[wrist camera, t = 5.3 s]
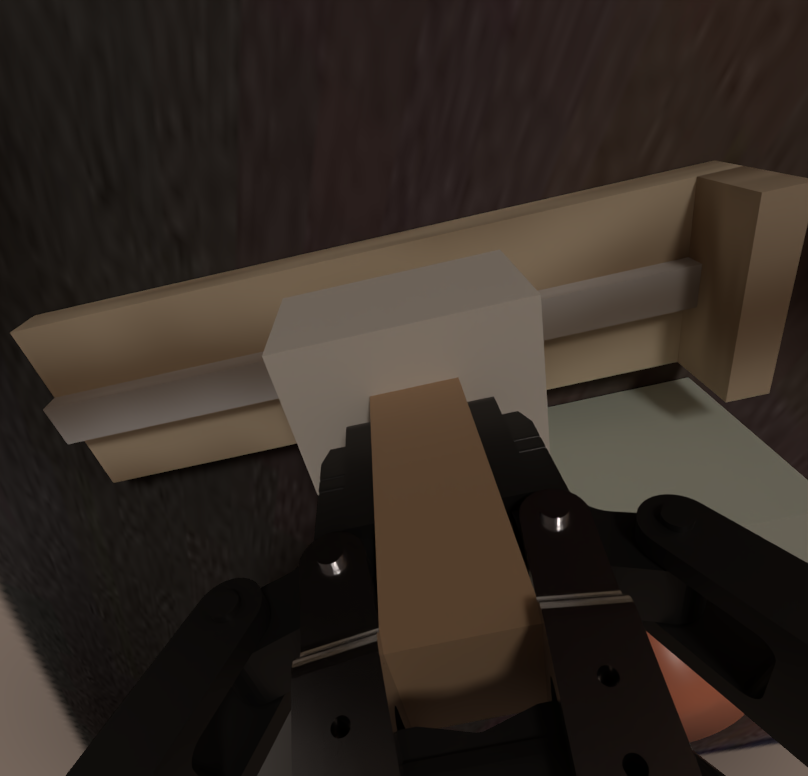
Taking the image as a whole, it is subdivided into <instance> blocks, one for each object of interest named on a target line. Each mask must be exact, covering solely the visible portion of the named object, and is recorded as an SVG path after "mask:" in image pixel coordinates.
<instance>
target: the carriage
mask: <svg viewBox="0 0 808 776" xmlns="http://www.w3.org/2000/svg"><path fill="white" fill-rule="evenodd" d="M262 358H263V360H264V363H265V365H266V368H267V370H268V373H269V375H270V378H271V380H272V383H273V385H274V388H275V390H276V393H277V395H278V398H279V400H280V403H281V405H282V407H283V410H284V412H285V415H286V417H287V420H288V422H289V425H290V427H291V430H292V432H293V435H294V437H295V440H296V442H297V445H298V447H299V450H300V452H301V455H302V457H303V460H304V462H305V464H306V467H307V469H308V472H309V474H310V477H311V479H312V482H313V484H314V487H315V489H316V492H317V494H318V495H319V482H320V472H321V464H322V462H323V461H324V459H325V457H326V456H327V454H328V453H329V451H330V450H331V449H336V448H341V447H345V444H346V427H348V426H353V425H358V424H362V423H367V422H371V445H372V470H373V494H374V519H375V544H376V569H377V593H378V618H379V631H380V637H381V642H382V648H383V653H384V656H385V659H386V662H387V664H388V667H389V669H390V672H391V675H392V677H393V680H394V682H395V685H396V688H397V690H398V693H399V695H400V698H401V701H402V703H403V706H404V708H405V711H406V714H407V716H408V719H409V721H410V724H411V727H426V728H435V729H437V728H442V727H447V726H452V725H458V724H463V723H468V722H473V721H478V720H484V719H489V718H494V717H499V716H504V715H510V714H515V713H520V712H523V711H525V710H527V709H528V708H530V707H532V706H534V705H536V704H539V703H544V702H547V689H546V676H545V663H544V650H543V637H542V624H541V619H540V614H539V609H538V604H537V599H536V594H535V591H534V589H533V586H532V583H531V580H530V577H529V575H528V572H527V569H526V566H525V563H524V560H523V558H522V555H521V552H520V549H519V546H518V544H517V541H516V538H515V535H514V532H513V530H512V527H511V524H510V521H509V518H508V515H507V513H506V510H505V507H504V504H503V501H502V499H501V496H500V493H499V490H498V487H497V484H496V482H495V479H494V476H493V473H492V470H491V468H490V465H489V462H488V459H487V456H486V454H485V451H484V448H483V445H482V442H481V439H480V437H479V434H478V431H477V428H476V425H475V423H474V420H473V417H472V414H471V411H470V408H469V406H468V403H467V402H469V401H474V400H478V399H483V398H488V397H494V398H495V400H496V402H497V404H498V406H499V409H500V411H501V413H502V414H506V413H511V412H515V411H519V412H520V413H522V414H523V415H524V416H526V417H527V418H529V419H530V420H532V421H533V423H534V425H535V427H536V429H537V431H538V433H539V435H540V437H541V438H542V440H543V442H544V444H545V447H546V448H547V450H548V452H549V453H550V442H549V425H548V408H547V391H546V373H545V356H544V339H543V322H542V304H541V294H540V293H539V292H538V291H537V290H536V289H535V287H534V286H533V285H532V284H531V283H530V282H529V281H528V280H527V279H526V278H525V276H524V275H523V274H522V273H521V272H520V271H519V270H518V269H517V268H516V267H515V265H514V264H513V263H512V262H511V261H510V260H509V259H508V258H507V257H506V256H505V254H504V253H503V252H502V251H501V250H495V251H491V252H487V253H482V254H478V255H473V256H469V257H464V258H460V259H455V260H451V261H447V262H442V263H438V264H433V265H429V266H424V267H420V268H416V269H411V270H407V271H402V272H398V273H393V274H389V275H384V276H380V277H376V278H371V279H367V280H362V281H358V282H353V283H349V284H344V285H340V286H336V287H331V288H327V289H322V290H318V291H313V292H309V293H305V294H300V295H296V296H291V297H287V298H283V299H282V302H281V305H280V307H279V310H278V313H277V316H276V319H275V321H274V324H273V327H272V330H271V332H270V335H269V338H268V341H267V343H266V346H265V349H264V352H263V355H262Z"/></svg>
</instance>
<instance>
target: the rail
mask: <svg viewBox="0 0 808 776" xmlns="http://www.w3.org/2000/svg"><path fill="white" fill-rule="evenodd" d="M807 224H808V178H804V177H798V176H793V175H788V174H783V173H777V172H772V171H767V170H762V169H756V168H751V167H746V166H741V165H735V164H730V163H725V162H720V161H710V162H706V163H701V164H697V165H693V166H688V167H684V168H679V169H675V170H671V171H666V172H662V173H658V174H653V175H649V176H644V177H640V178H636V179H631V180H627V181H622V182H618V183H614V184H609V185H605V186H601V187H596V188H592V189H587V190H583V191H579V192H574V193H570V194H565V195H561V196H557V197H552V198H548V199H544V200H539V201H535V202H530V203H526V204H522V205H517V206H513V207H508V208H504V209H500V210H495V211H491V212H487V213H482V214H478V215H473V216H469V217H465V218H460V219H456V220H451V221H447V222H443V223H438V224H434V225H430V226H425V227H421V228H416V229H412V230H408V231H403V232H399V233H395V234H390V235H386V236H381V237H377V238H373V239H368V240H364V241H359V242H355V243H351V244H346V245H342V246H338V247H333V248H329V249H324V250H320V251H316V252H311V253H307V254H302V255H298V256H294V257H289V258H285V259H281V260H276V261H272V262H267V263H263V264H259V265H254V266H250V267H245V268H241V269H237V270H232V271H228V272H224V273H219V274H215V275H210V276H206V277H202V278H197V279H193V280H188V281H184V282H180V283H175V284H171V285H167V286H162V287H158V288H153V289H149V290H145V291H140V292H136V293H131V294H127V295H123V296H118V297H114V298H110V299H105V300H101V301H96V302H92V303H88V304H83V305H79V306H75V307H70V308H66V309H61V310H57V311H53V312H48V313H44V314H39V315H35V316H33V317H32V318H30V319H29V320H27V321H26V322H25V323H23V324H22V325H20V326H19V327H17V328H16V329H14V330H13V331H12V332H10V334H11V335H12V337H13V338H14V340H15V341H16V342H17V344H18V345H19V347H20V348H21V350H22V351H23V353H24V354H25V355H26V357H27V358H28V360H29V361H30V363H31V364H32V366H33V367H34V368H35V370H36V371H37V373H38V374H39V376H40V377H41V379H42V380H43V381H44V383H45V384H46V386H47V387H48V389H49V390H50V392H51V393H52V394H53V396H54V397H55V398H54V399H53V400H52V401H51V402H50V403H49V404H48V405H47V406H46V407H45V408H44V409H43V410H44V412H45V413H46V415H47V416H48V417H49V419H50V420H51V422H52V423H53V424H54V426H55V427H56V429H57V430H58V431H59V433H60V434H61V436H62V437H63V438H64V440H65V441H66V443H67V444H72V443H76V442H81V441H85V442H86V444H87V445H88V447H89V448H90V449H91V451H92V452H93V454H94V455H95V457H96V458H97V460H98V461H99V462H100V464H101V465H102V467H103V468H104V470H105V471H106V473H107V474H108V475H109V477H110V478H111V480H112V481H113V483H115V482H120V481H124V480H129V479H134V478H138V477H143V476H148V475H152V474H157V473H162V472H166V471H171V470H175V469H180V468H185V467H189V466H194V465H199V464H203V463H208V462H213V461H217V460H222V459H227V458H231V457H236V456H241V455H245V454H250V453H255V452H259V451H264V450H269V449H273V448H278V447H283V446H287V445H292V444H297V442H296V440H295V437H294V435H293V432H292V430H291V427H290V425H289V422H288V420H287V417H286V415H285V412H284V410H283V407H282V405H281V403H280V400H279V398H278V395H277V393H276V390H275V388H274V385H273V383H272V380H271V378H270V375H269V373H268V370H267V368H266V365H265V363H264V360H263V358H262V355H263V352H264V349H265V346H266V343H267V341H268V338H269V335H270V332H271V330H272V327H273V324H274V321H275V319H276V316H277V313H278V310H279V307H280V305H281V302H282V299H283V298H287V297H291V296H296V295H300V294H305V293H309V292H313V291H318V290H322V289H327V288H331V287H336V286H340V285H344V284H349V283H353V282H358V281H362V280H367V279H371V278H376V277H380V276H384V275H389V274H393V273H398V272H402V271H407V270H411V269H416V268H420V267H424V266H429V265H433V264H438V263H442V262H447V261H451V260H455V259H460V258H464V257H469V256H473V255H478V254H482V253H487V252H491V251H495V250H501V251H502V252H503V253H504V254H505V256H506V257H507V258H508V259H509V260H510V261H511V262H512V263H513V264H514V265H515V267H516V268H517V269H518V270H519V271H520V272H521V273H522V274H523V275H524V276H525V278H526V279H527V280H528V281H529V282H530V283H531V284H532V285H533V286H534V287H535V289H536V290H537V291H538V292H539V293H540V294H541V304H542V322H543V339H544V356H545V373H546V390H548V389H553V388H558V387H562V386H567V385H572V384H576V383H581V382H586V381H590V380H595V379H600V378H604V377H609V376H614V375H618V374H623V373H628V372H632V371H637V370H642V369H646V368H651V367H656V366H660V365H665V364H670V363H674V362H678V363H680V364H681V365H682V366H683V367H684V368H685V369H687V370H688V371H689V372H690V373H691V374H693V375H694V376H695V377H696V378H697V379H699V380H700V381H701V382H702V383H703V384H705V385H706V386H707V387H708V388H709V389H710V390H712V391H713V392H714V393H715V394H716V395H718V396H719V397H720V398H721V399H722V400H724V401H725V402H730V401H735V400H739V399H744V398H749V397H754V396H758V395H763V394H768V393H769V392H770V387H771V383H772V379H773V374H774V370H775V365H776V361H777V356H778V352H779V348H780V343H781V339H782V334H783V330H784V326H785V321H786V317H787V312H788V308H789V304H790V299H791V295H792V290H793V286H794V282H795V277H796V273H797V268H798V264H799V259H800V255H801V251H802V246H803V242H804V237H805V233H806V229H807Z"/></svg>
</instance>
